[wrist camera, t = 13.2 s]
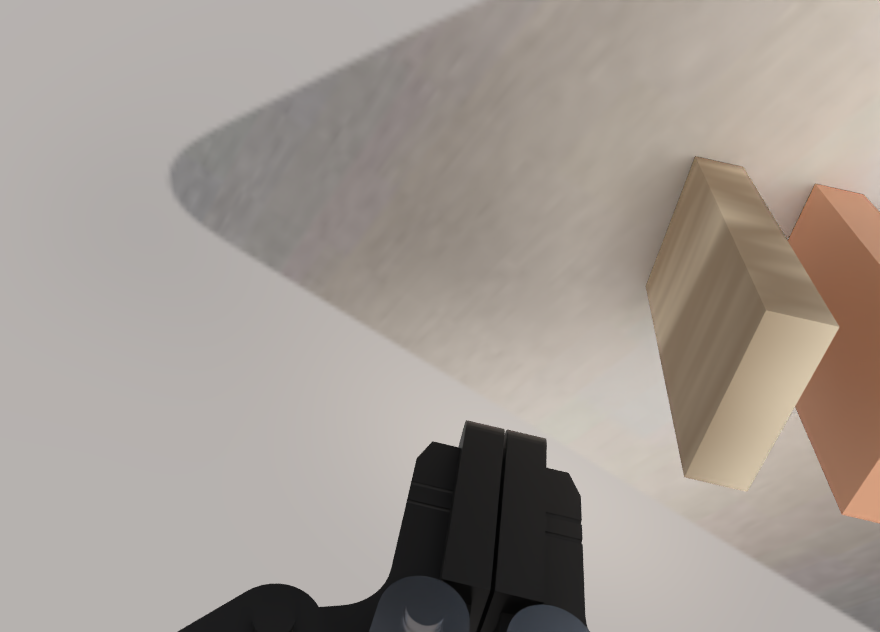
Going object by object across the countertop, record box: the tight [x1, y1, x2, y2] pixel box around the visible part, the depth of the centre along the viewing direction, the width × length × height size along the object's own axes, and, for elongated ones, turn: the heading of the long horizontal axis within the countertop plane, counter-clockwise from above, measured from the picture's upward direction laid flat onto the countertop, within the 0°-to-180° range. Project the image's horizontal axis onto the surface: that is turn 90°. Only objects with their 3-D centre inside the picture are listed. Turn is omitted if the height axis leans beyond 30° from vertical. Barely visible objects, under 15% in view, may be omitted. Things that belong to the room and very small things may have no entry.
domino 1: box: [646, 156, 839, 492], centre depth 22 cm, size 2×5×10 cm, turn 170°
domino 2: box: [788, 184, 880, 523], centre depth 22 cm, size 2×5×10 cm, turn 169°
